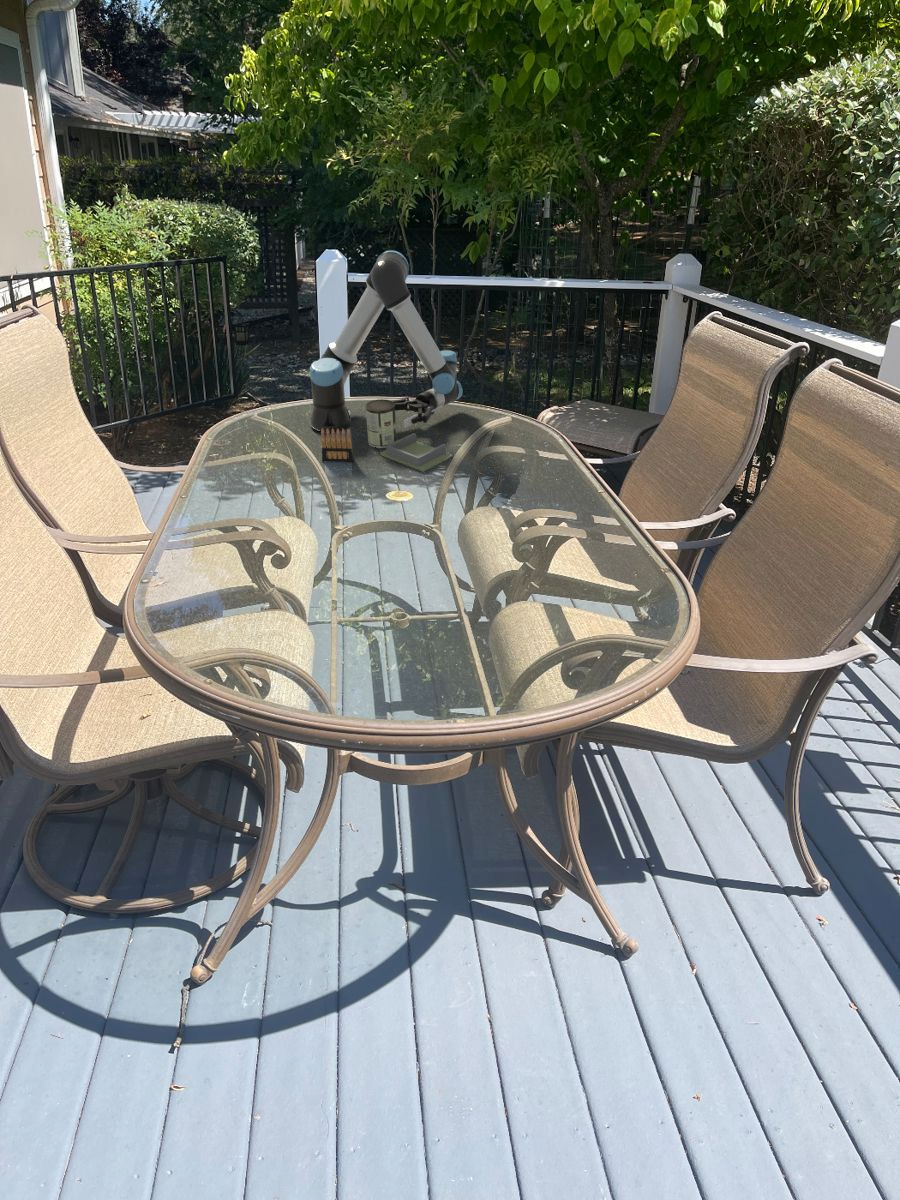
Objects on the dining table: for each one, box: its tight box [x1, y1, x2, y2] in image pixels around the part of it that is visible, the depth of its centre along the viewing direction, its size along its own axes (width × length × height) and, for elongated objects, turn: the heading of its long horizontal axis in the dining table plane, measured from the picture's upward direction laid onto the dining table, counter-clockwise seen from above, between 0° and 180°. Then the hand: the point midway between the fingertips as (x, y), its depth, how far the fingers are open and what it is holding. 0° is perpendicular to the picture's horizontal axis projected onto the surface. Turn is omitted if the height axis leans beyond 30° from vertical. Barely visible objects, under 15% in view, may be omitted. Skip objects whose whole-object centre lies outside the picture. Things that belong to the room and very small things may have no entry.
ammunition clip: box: [320, 428, 355, 463], centre depth 298 cm, size 11×2×12 cm, turn 87°
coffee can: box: [364, 398, 398, 449], centre depth 310 cm, size 10×10×14 cm
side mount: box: [379, 432, 449, 473], centre depth 303 cm, size 20×15×4 cm
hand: (389, 418), depth 311 cm, fingers open, 13 cm apart
